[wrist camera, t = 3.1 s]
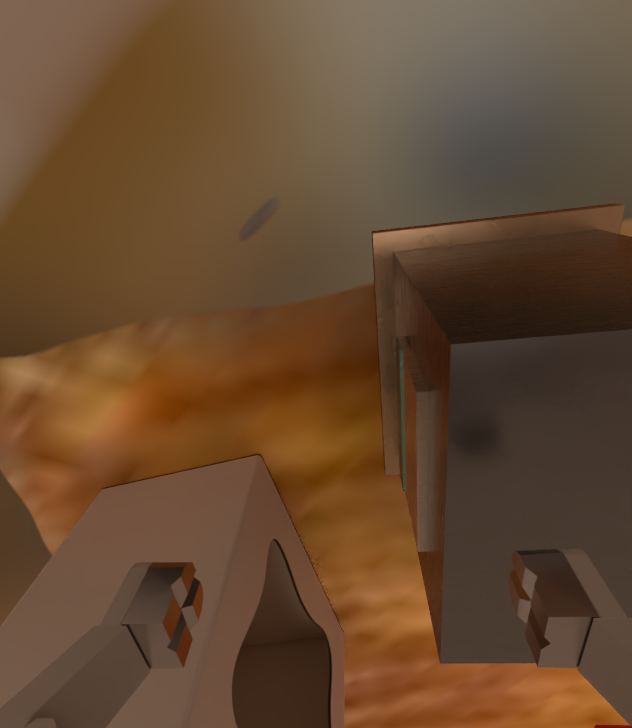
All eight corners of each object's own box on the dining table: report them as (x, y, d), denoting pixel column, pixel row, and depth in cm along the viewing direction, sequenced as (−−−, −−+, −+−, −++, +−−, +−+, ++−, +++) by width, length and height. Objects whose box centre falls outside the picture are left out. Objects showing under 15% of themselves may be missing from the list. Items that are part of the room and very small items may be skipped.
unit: (614, 203, 20) (993, 255, 8) (564, 458, 27) (732, 676, 15) (371, 231, 21) (409, 310, 10) (384, 467, 28) (414, 677, 16)
